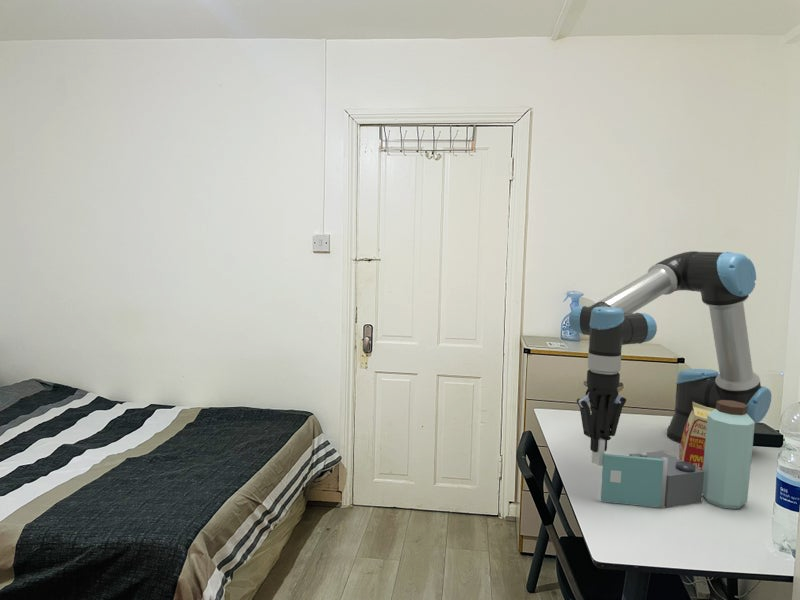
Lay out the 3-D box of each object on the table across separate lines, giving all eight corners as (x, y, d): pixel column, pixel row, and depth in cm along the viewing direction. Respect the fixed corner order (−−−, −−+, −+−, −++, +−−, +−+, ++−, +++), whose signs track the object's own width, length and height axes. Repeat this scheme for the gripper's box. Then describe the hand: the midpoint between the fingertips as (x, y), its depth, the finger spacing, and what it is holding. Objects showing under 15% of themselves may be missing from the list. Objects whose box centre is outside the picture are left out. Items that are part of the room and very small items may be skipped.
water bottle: (746, 514, 133) (756, 412, 130) (699, 503, 138) (707, 405, 135) (746, 498, 141) (756, 402, 138) (702, 488, 146) (710, 395, 144)
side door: (663, 505, 136) (667, 457, 135) (665, 508, 134) (668, 459, 133) (600, 498, 139) (603, 451, 137) (601, 501, 137) (604, 454, 136)
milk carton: (681, 476, 154) (687, 405, 152) (677, 463, 163) (682, 396, 160) (718, 481, 151) (725, 409, 149) (712, 468, 159) (718, 400, 157)
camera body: (659, 478, 152) (662, 447, 151) (701, 502, 138) (704, 467, 137) (626, 483, 149) (628, 450, 148) (665, 507, 135) (668, 472, 134)
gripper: (615, 365, 142) (609, 455, 144) (571, 368, 138) (566, 460, 140) (636, 372, 135) (629, 467, 137) (590, 375, 131) (584, 472, 133)
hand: (597, 463), depth 139 cm, fingers closed
